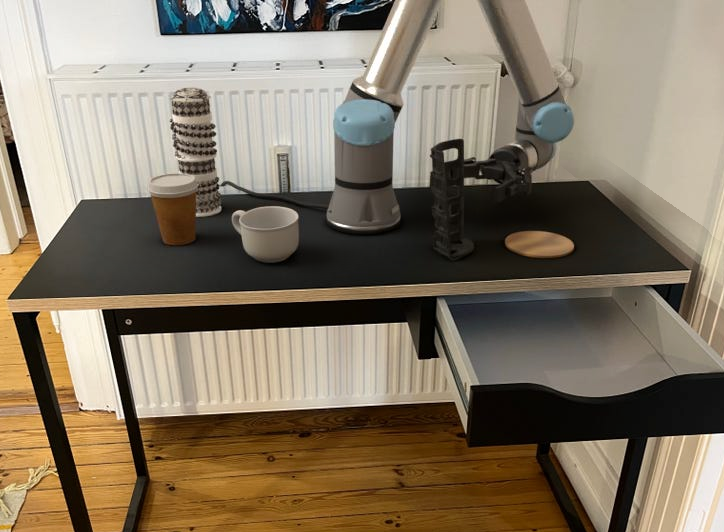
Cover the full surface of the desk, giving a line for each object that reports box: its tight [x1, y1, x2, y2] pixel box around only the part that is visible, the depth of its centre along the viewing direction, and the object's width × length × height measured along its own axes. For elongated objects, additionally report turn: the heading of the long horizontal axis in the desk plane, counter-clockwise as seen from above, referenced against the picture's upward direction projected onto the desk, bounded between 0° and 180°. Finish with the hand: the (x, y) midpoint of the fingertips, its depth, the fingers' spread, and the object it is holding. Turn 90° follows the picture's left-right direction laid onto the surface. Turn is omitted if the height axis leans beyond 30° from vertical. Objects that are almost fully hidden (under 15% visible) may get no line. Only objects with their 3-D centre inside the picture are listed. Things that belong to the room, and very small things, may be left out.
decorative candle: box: [169, 87, 222, 218], centre depth 159 cm, size 9×9×25 cm
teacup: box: [231, 205, 300, 264], centre depth 141 cm, size 14×11×8 cm
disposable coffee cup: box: [146, 172, 198, 246], centre depth 147 cm, size 10×10×12 cm
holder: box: [429, 138, 475, 261], centre depth 140 cm, size 11×8×20 cm
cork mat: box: [504, 230, 575, 259], centre depth 147 cm, size 13×13×1 cm
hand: (462, 188), depth 142 cm, fingers open, 13 cm apart
